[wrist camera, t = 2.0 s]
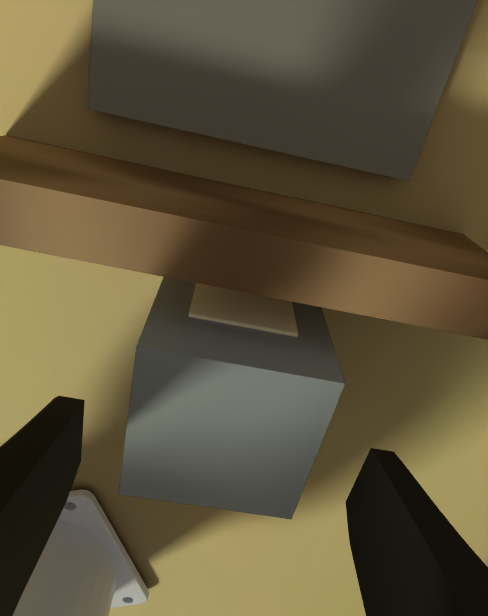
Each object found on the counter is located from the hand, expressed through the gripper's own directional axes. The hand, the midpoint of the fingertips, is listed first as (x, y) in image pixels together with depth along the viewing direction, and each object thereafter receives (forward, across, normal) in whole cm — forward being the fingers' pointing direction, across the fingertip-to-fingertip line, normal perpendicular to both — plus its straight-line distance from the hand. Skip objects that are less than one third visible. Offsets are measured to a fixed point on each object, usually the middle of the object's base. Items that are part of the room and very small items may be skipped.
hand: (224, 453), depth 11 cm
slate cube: (+5, 0, 0) cm, 5 cm away
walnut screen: (+5, +1, -5) cm, 7 cm away
